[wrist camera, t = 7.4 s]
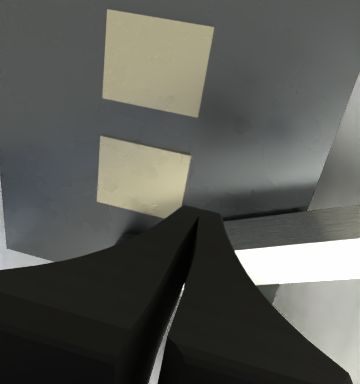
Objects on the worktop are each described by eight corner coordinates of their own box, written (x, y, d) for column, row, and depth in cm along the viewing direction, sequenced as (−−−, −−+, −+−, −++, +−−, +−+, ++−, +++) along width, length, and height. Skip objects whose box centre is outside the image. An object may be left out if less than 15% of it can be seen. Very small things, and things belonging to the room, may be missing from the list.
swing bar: (112, 235, 19) (89, 264, 17) (404, 199, 15) (437, 230, 12) (122, 262, 20) (102, 295, 17) (404, 235, 16) (436, 273, 13)
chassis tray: (18, 239, 23) (-36, 281, 19) (-5, -93, 15) (-108, -153, 11) (264, 306, 21) (268, 371, 17) (391, -40, 13) (463, -88, 9)
